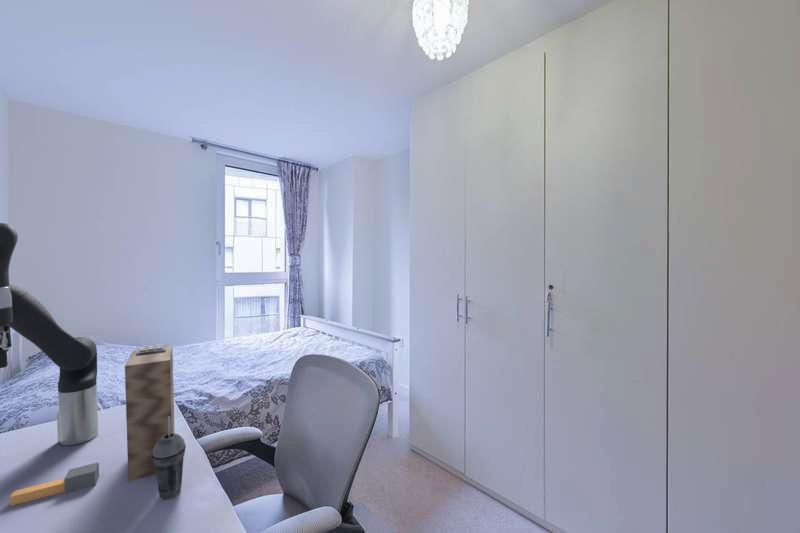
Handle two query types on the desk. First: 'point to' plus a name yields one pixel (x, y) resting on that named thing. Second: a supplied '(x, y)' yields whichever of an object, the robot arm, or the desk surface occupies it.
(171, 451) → the beverage cup
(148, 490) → the desk surface
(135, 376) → the brown wooden tall block
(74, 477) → the mallet
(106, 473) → the desk surface
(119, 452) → the desk surface
